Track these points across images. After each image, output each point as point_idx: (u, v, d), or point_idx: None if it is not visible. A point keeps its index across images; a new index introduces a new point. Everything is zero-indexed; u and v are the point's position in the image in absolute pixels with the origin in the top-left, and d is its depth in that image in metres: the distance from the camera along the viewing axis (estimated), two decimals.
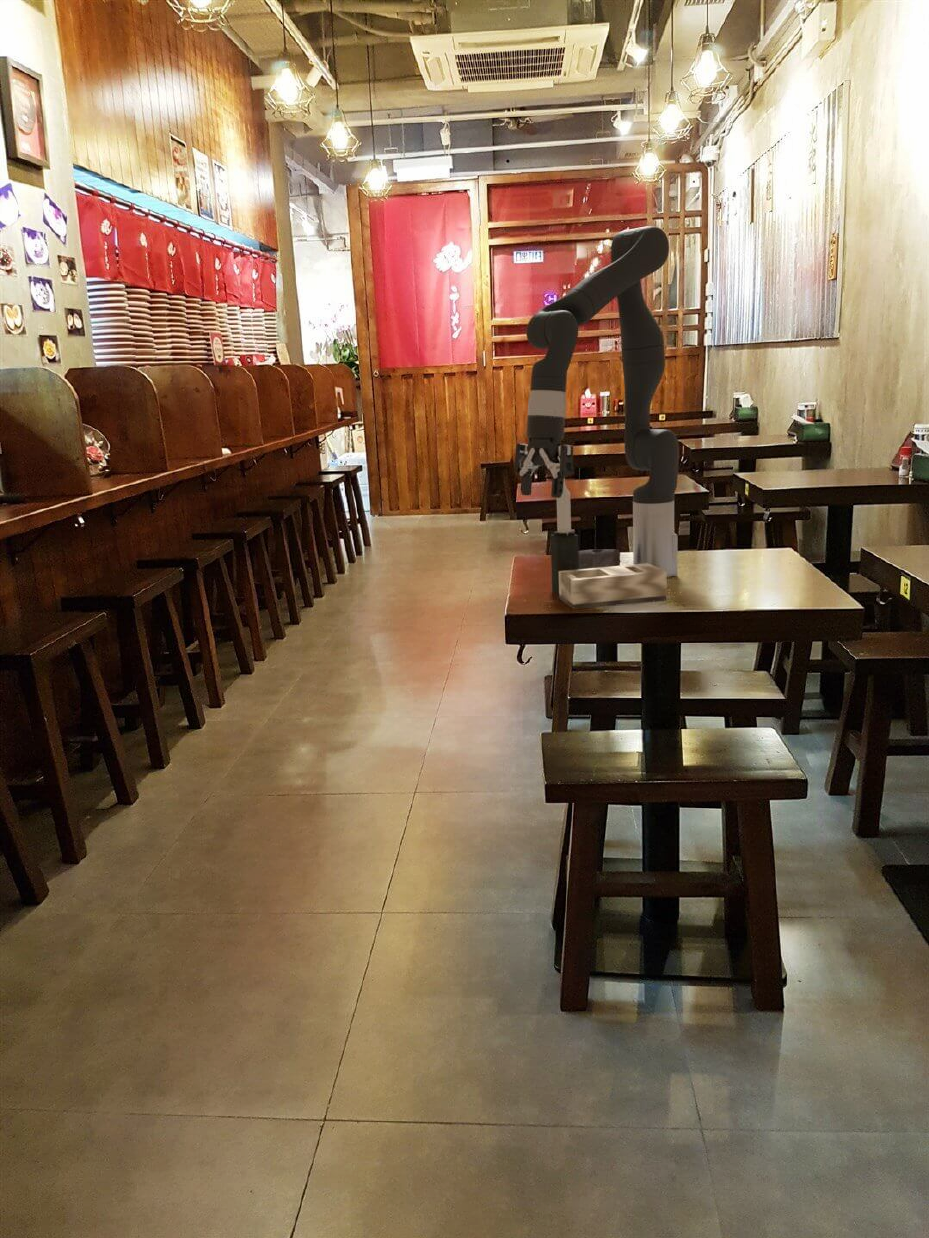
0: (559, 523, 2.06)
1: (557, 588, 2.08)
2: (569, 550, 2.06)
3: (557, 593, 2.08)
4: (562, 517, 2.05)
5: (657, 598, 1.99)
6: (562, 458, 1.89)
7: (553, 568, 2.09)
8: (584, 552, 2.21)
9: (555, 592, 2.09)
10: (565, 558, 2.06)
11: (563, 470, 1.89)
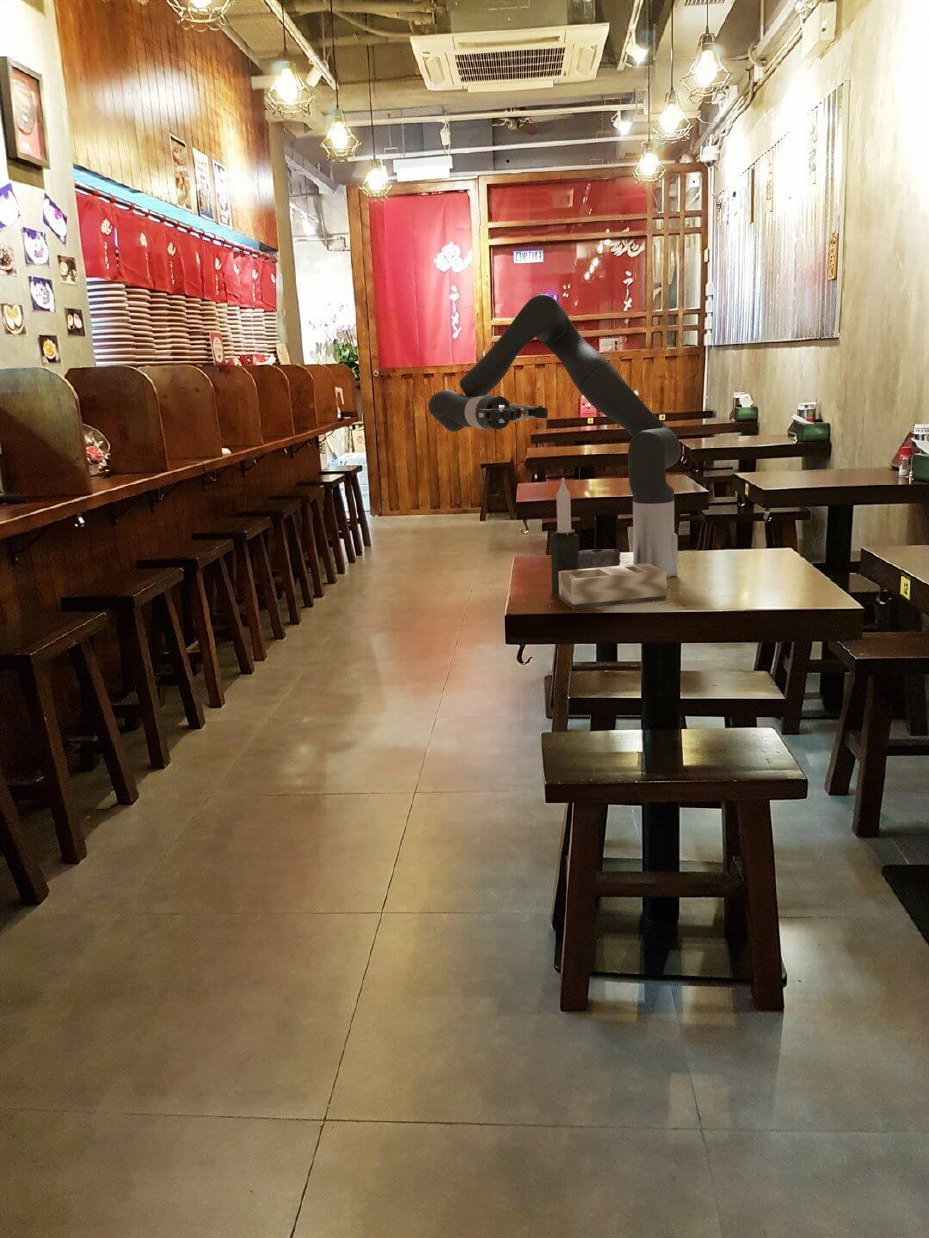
0: (559, 523, 2.06)
1: (557, 588, 2.08)
2: (569, 550, 2.06)
3: (557, 593, 2.08)
4: (562, 517, 2.05)
5: (657, 598, 1.99)
6: (486, 420, 2.12)
7: (553, 568, 2.09)
8: (584, 552, 2.21)
9: (555, 592, 2.09)
10: (565, 558, 2.06)
11: (490, 421, 2.10)
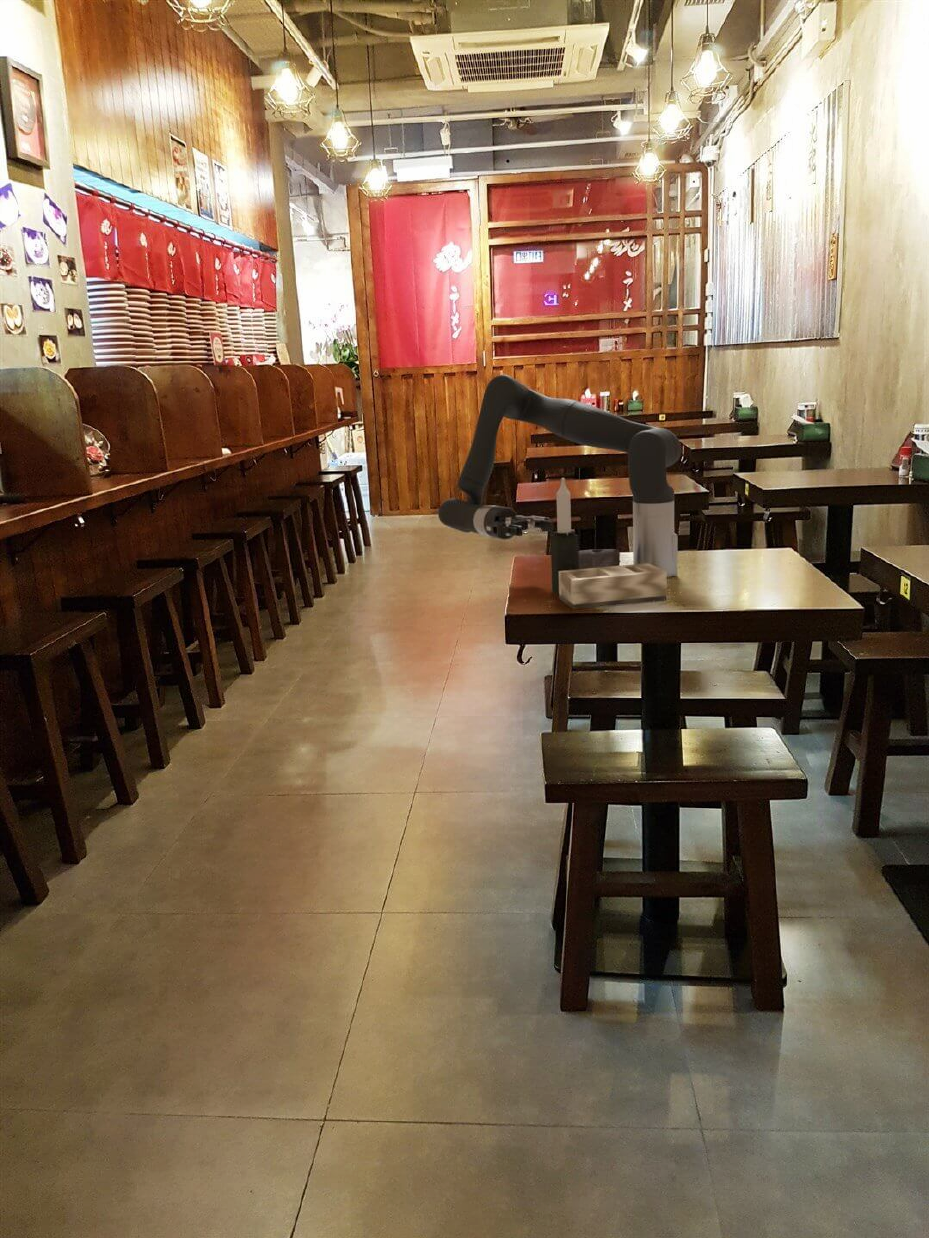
0: (559, 523, 2.06)
1: (557, 588, 2.08)
2: (569, 550, 2.06)
3: (557, 593, 2.08)
4: (562, 517, 2.05)
5: (657, 598, 1.99)
6: None
7: (553, 568, 2.09)
8: (584, 552, 2.21)
9: (555, 592, 2.09)
10: (565, 558, 2.06)
11: None
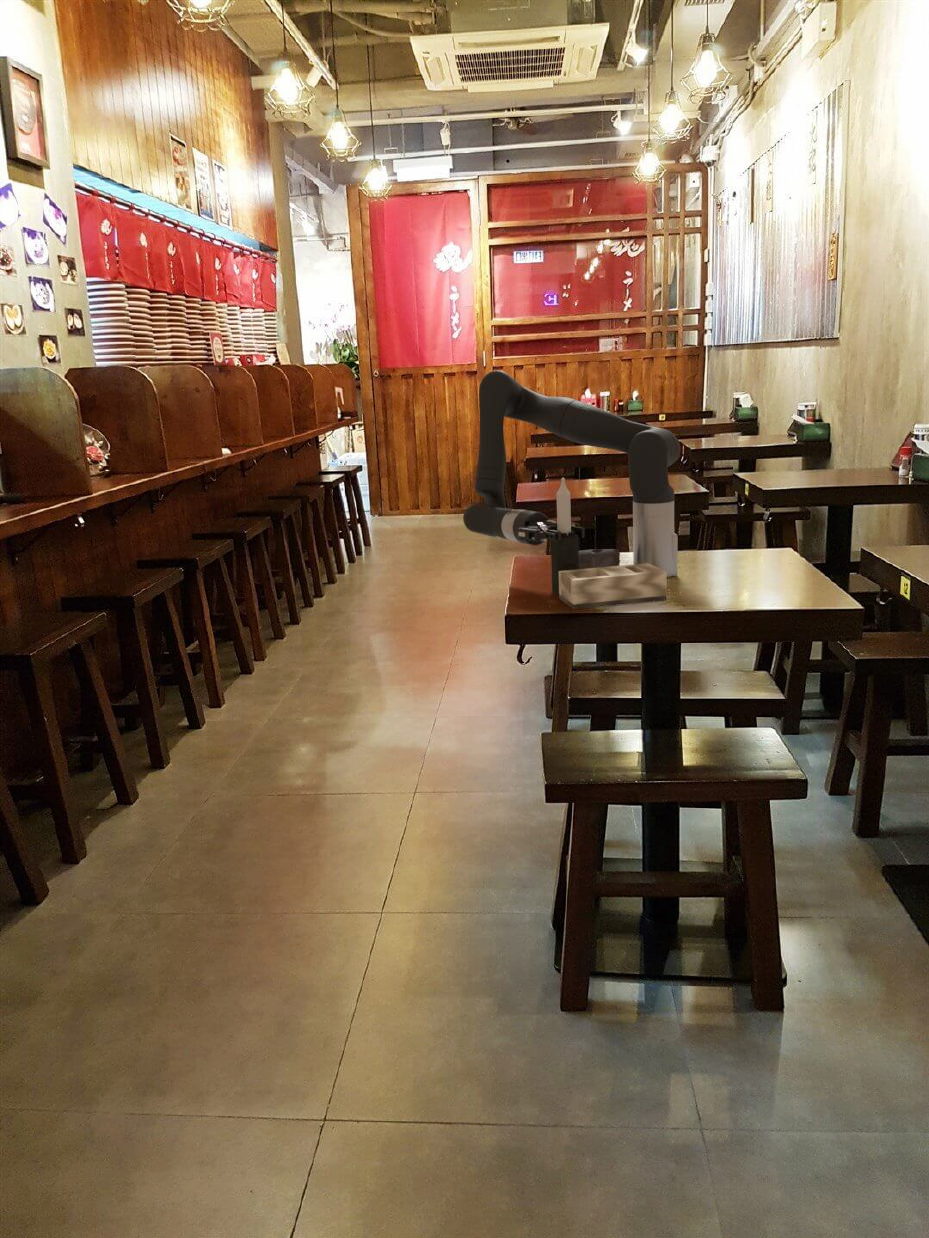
0: (559, 523, 2.05)
1: (557, 588, 2.08)
2: (569, 550, 2.06)
3: (557, 593, 2.08)
4: (562, 517, 2.05)
5: (657, 598, 1.99)
6: None
7: (553, 568, 2.09)
8: (584, 552, 2.21)
9: (555, 592, 2.09)
10: (565, 558, 2.06)
11: (534, 541, 2.07)
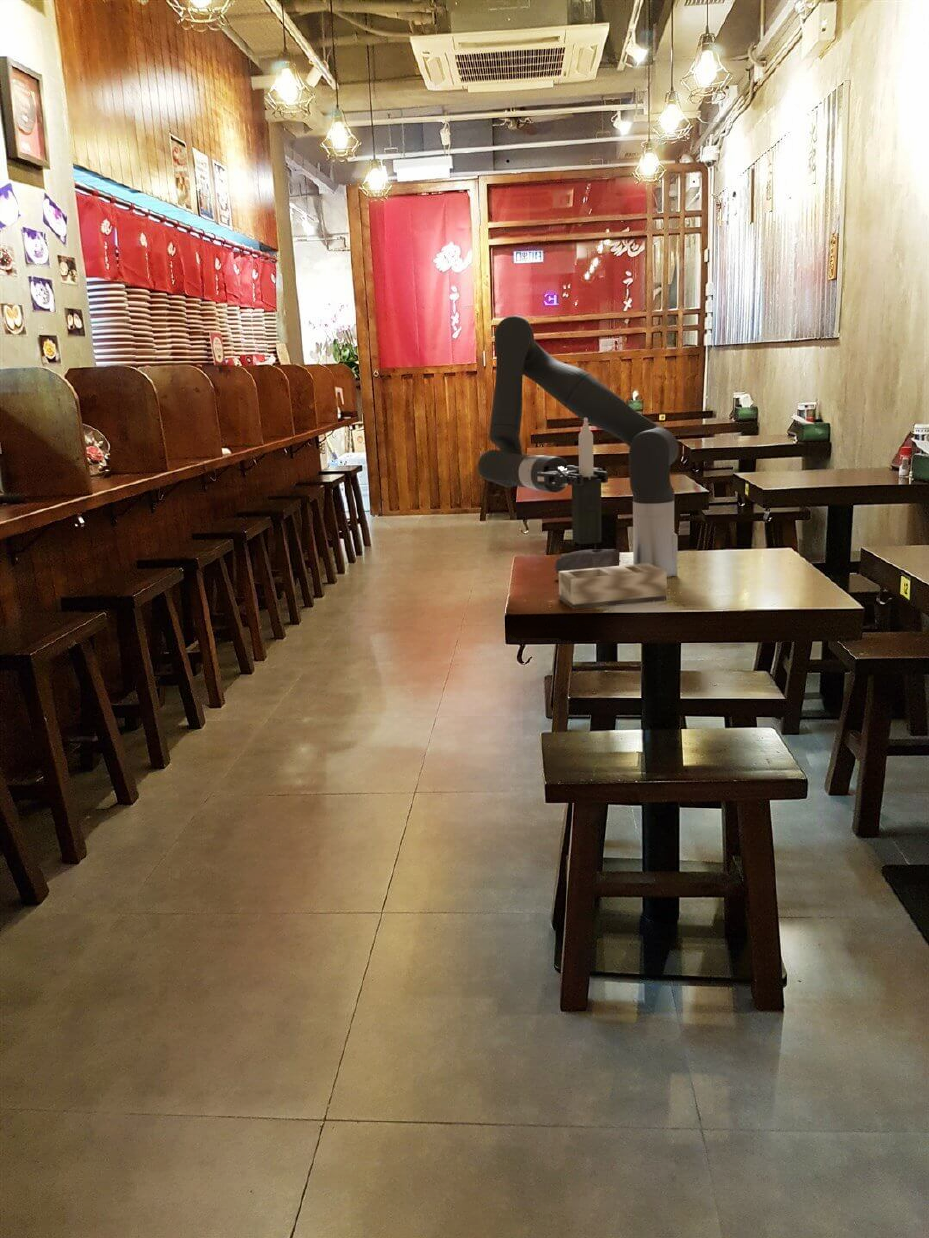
0: (581, 466, 1.93)
1: (578, 536, 1.96)
2: (592, 495, 1.93)
3: (578, 541, 1.96)
4: (584, 460, 1.93)
5: (657, 598, 1.99)
6: (547, 485, 1.96)
7: (573, 515, 1.97)
8: (584, 552, 2.21)
9: (576, 540, 1.97)
10: (587, 504, 1.93)
11: (554, 485, 1.95)
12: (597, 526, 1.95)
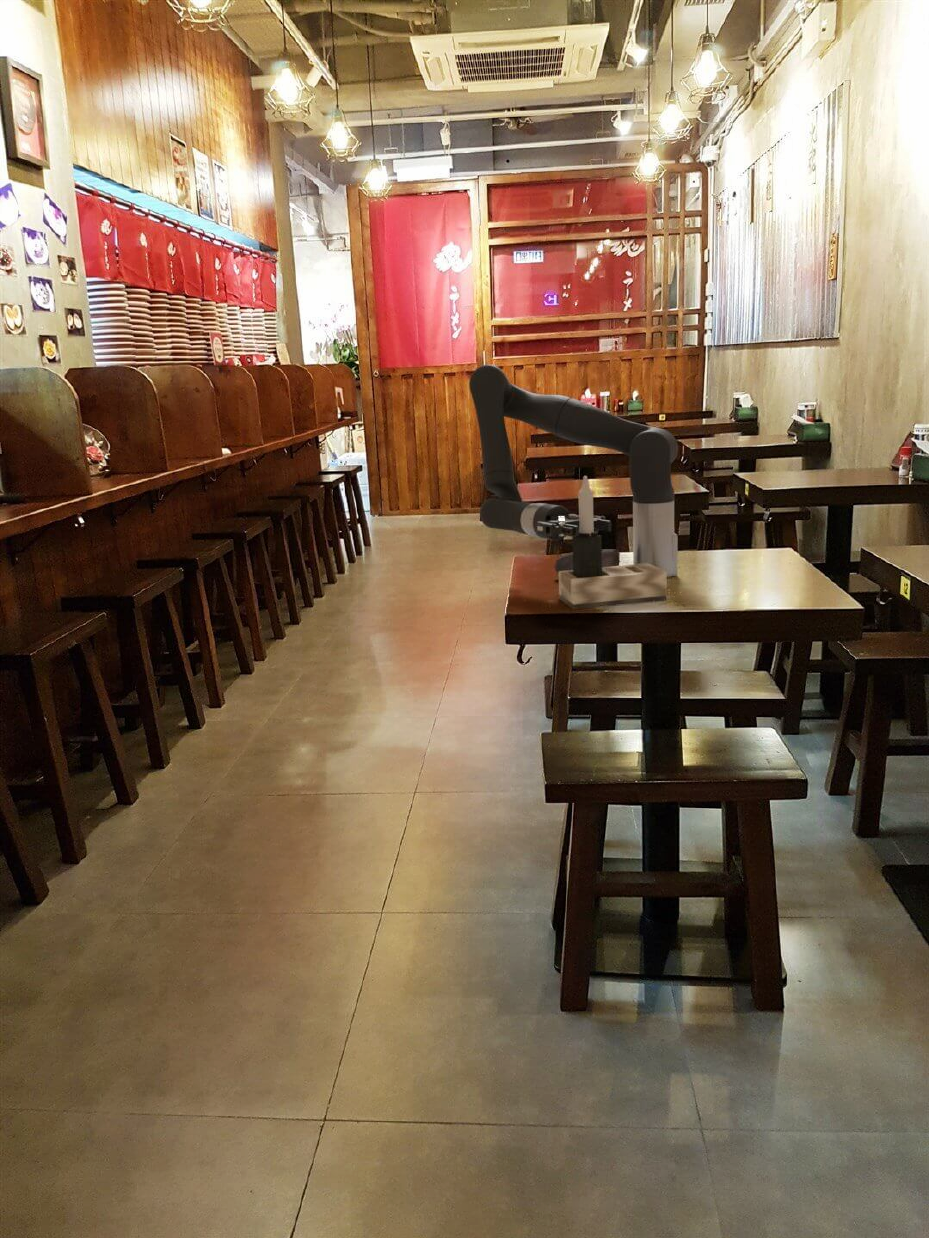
0: (581, 523, 1.97)
1: None
2: (592, 551, 1.97)
3: None
4: (584, 517, 1.96)
5: (657, 598, 1.99)
6: (545, 534, 1.99)
7: (574, 571, 2.00)
8: None
9: None
10: (587, 560, 1.97)
11: None
12: None
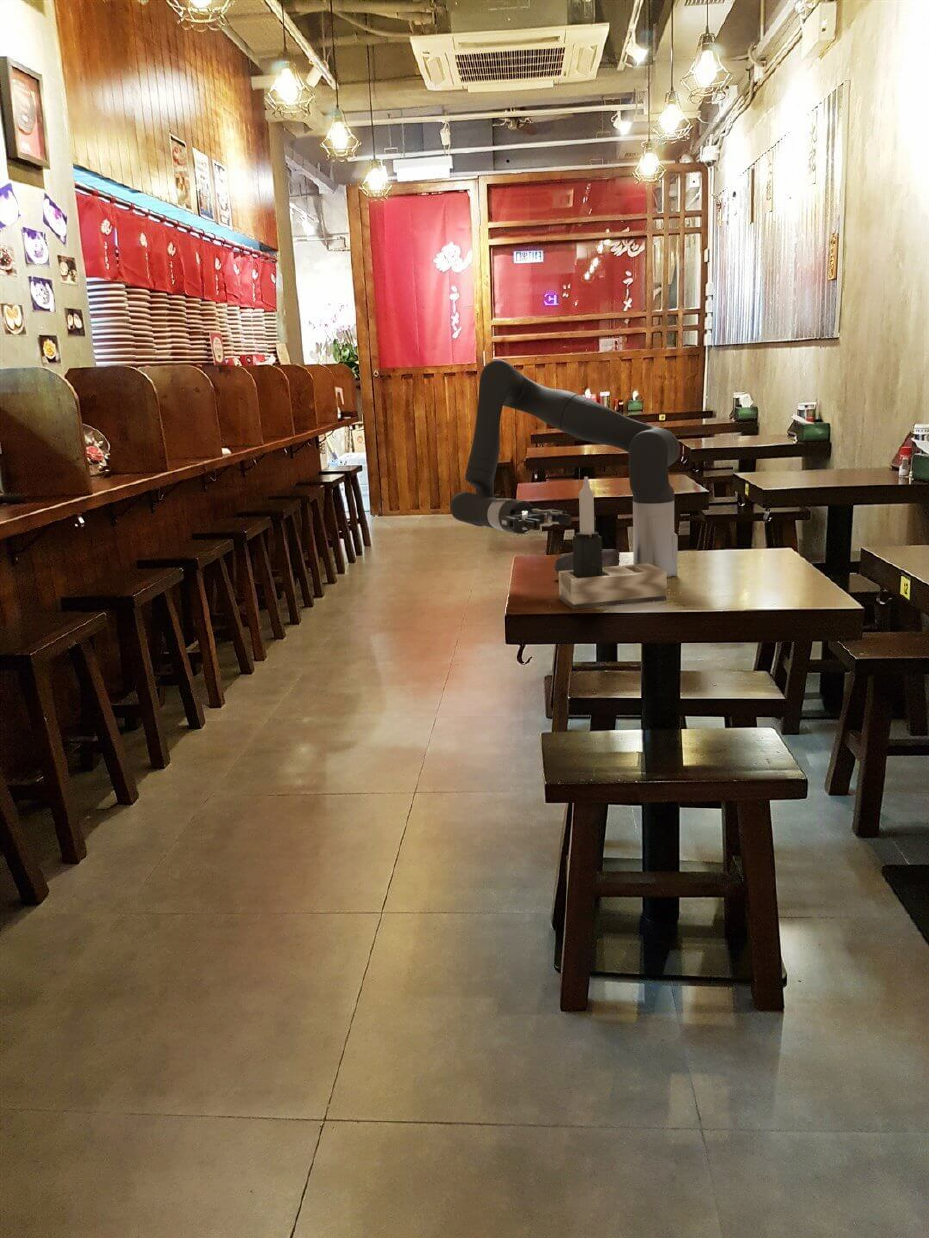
0: (582, 524, 1.96)
1: None
2: (593, 552, 1.96)
3: None
4: (585, 518, 1.96)
5: (657, 598, 1.99)
6: None
7: (575, 571, 2.00)
8: None
9: None
10: (588, 561, 1.96)
11: (513, 529, 2.08)
12: None
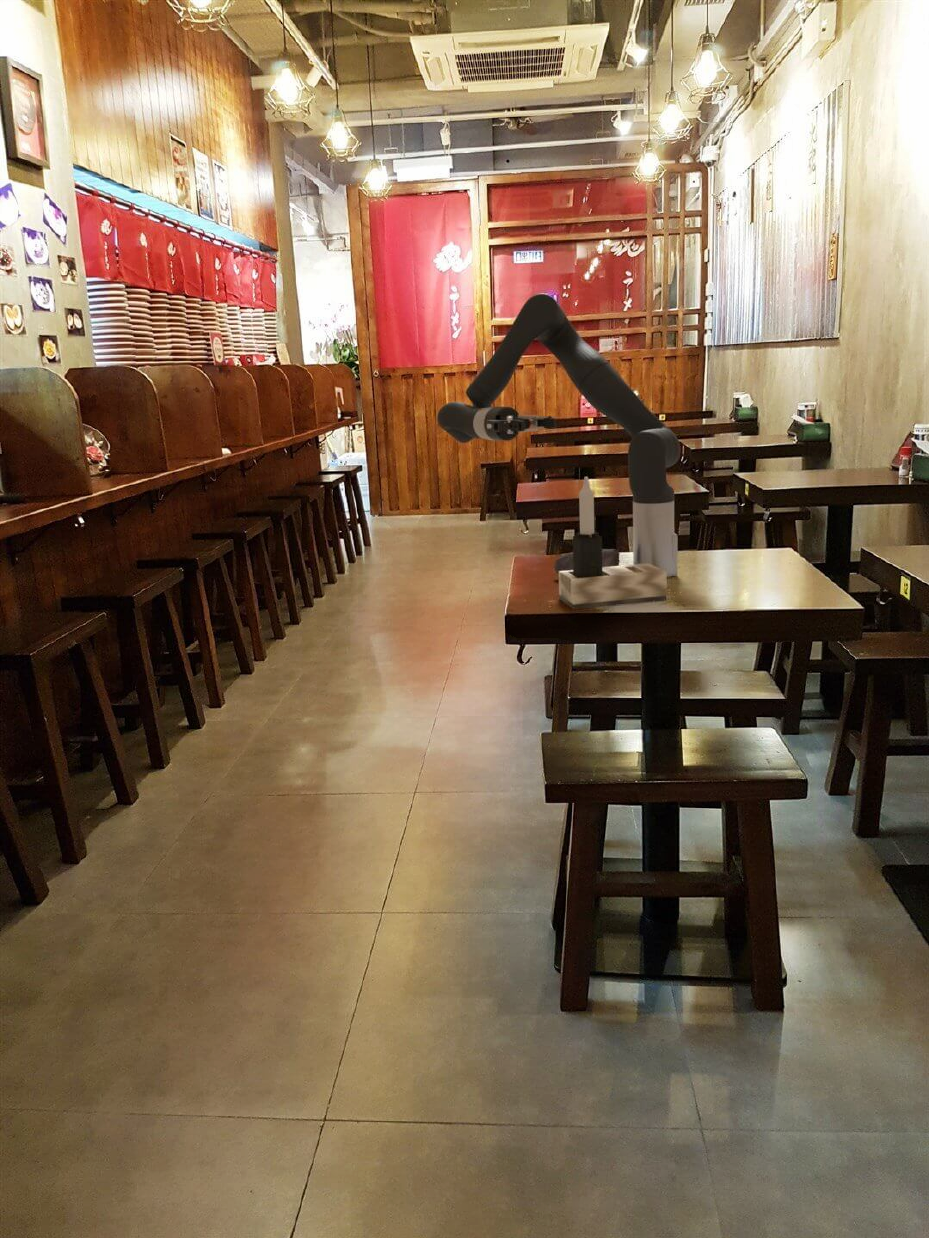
0: (582, 524, 1.96)
1: None
2: (593, 552, 1.96)
3: None
4: (585, 518, 1.96)
5: (657, 598, 1.99)
6: (494, 431, 2.09)
7: (575, 571, 2.00)
8: None
9: None
10: (588, 561, 1.96)
11: (498, 432, 2.07)
12: None
